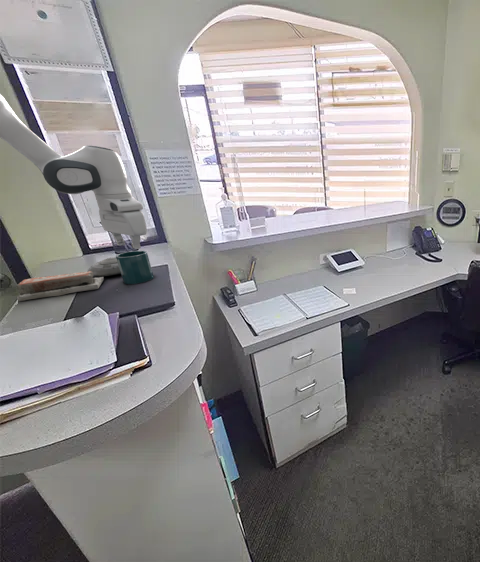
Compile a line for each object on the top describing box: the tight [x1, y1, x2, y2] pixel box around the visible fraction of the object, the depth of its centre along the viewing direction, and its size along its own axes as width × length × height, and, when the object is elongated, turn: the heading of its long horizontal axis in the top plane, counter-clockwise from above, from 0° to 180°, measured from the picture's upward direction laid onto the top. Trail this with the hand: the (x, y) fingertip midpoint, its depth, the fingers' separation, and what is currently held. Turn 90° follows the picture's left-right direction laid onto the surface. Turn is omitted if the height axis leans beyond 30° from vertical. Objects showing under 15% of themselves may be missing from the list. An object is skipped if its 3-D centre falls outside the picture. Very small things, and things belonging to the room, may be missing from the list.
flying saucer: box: [86, 256, 121, 277], centre depth 110 cm, size 15×15×6 cm
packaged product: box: [16, 271, 105, 302], centre depth 95 cm, size 18×5×10 cm
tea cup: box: [115, 250, 155, 285], centre depth 103 cm, size 8×8×9 cm
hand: (129, 246), depth 100 cm, fingers open, 8 cm apart
